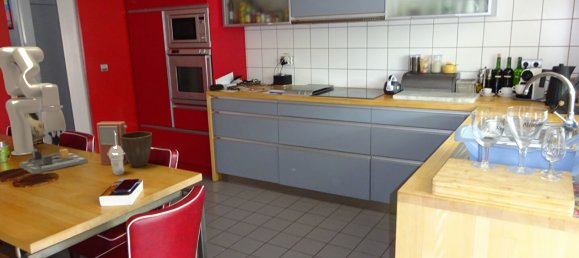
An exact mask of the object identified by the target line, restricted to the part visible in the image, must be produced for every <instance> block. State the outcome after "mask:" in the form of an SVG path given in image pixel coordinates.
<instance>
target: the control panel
mask: <svg viewBox="0 0 579 258" xmlns="http://www.w3.org/2000/svg"><path fill="white" fill-rule="evenodd" d="M96 128H97V129H96V131H97V140H98V150H99V157H100V164H101V165H111V160H110V158H109V156H108V155H107V153H108V152H109V149H110V148H111V147H112V146H114V145H115V136H114V131H115V133H116V140H117V145H120V146H122V147H123V145H122V141H121V137H120V136H121V135H123V134H126V133H127V132H126V131H127V130H126V129H127V128H128V126H127V125H126V122H125V121H99V122H97V123H96ZM123 149H124V148H123ZM127 161H128V162H129V160H128V158H127V156H126V154H125V157H124V165H125V163H126V162H127ZM128 162H127V163H128ZM127 163H126V164H127Z"/></svg>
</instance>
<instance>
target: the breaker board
mask: <svg viewBox="0 0 579 258" xmlns="http://www.w3.org/2000/svg"><path fill="white" fill-rule="evenodd" d="M68 155H69V156H71V157H67V158H62V159H58V157H60V152H58V153H52V154H46V155H42V151H41V150H38V149H37V151H32V157H30V158H26V161H21V162H18V165H19V168H21V169H23V170H25V171H26V170H27V171H26V172H28V173H30V174H32V175H35V174H39V173H45V172H49V171H55V170H60V169H63V168H68V167H73V166H79V165H83V164H87V163H88V159H87V157H86V158H85V157H83V156H81V155H78V154H77V153H73V152H68Z"/></svg>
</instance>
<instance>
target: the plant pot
mask: <svg viewBox="0 0 579 258" xmlns="http://www.w3.org/2000/svg"><path fill="white" fill-rule="evenodd" d="M152 136H153V133H152V132H149V131H133V132H128V133H127V132H126V134H123V135H121V136H120V137H121V141H122V145H123V148H124V150H125V151H126V156H127V158H128V163H129V164H130V166H131V167H132V166H133V167H132V168H142V167H141V166H143V167H145V166H144V165H146V164H147V165H148V162H149V158H150V155H151V154H150V153H151V148H152ZM147 165H146V166H147Z"/></svg>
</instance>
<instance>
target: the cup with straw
mask: <svg viewBox="0 0 579 258" xmlns="http://www.w3.org/2000/svg"><path fill="white" fill-rule="evenodd" d="M114 136H115V145H114V146H112V147H111V148H110V149H109V152H108V153H107V155H108V156H109V158H110V160H111V164H110V165H111V169H112V172H113V175H114V176H116V175H117V176H119V175H123V174H124V172H125V171H124V170H125V164H124V157H125V154H126V151H125V150H124V149H123V147H122V146H120V145H117V140H116V133H115V131H114Z"/></svg>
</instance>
